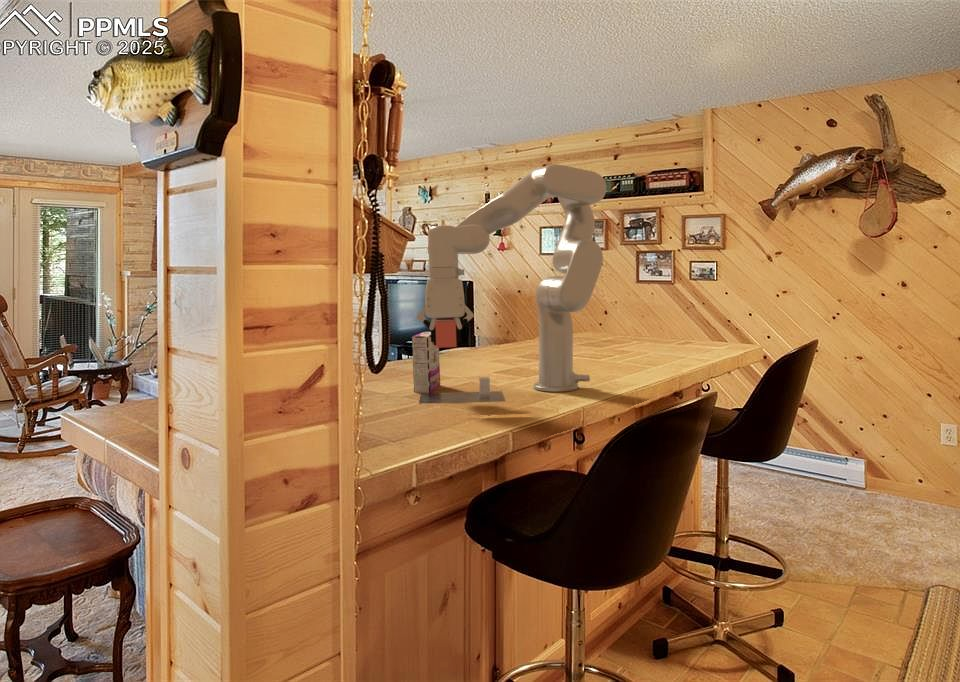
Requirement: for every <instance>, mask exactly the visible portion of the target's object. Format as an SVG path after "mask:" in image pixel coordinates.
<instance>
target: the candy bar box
mask: <svg viewBox="0 0 960 682" xmlns="http://www.w3.org/2000/svg"><path fill="white" fill-rule="evenodd" d="M411 351H412V352H411V353H412V365H413V366H412V369H413V370H412V372H413V393H420V394H421V393H433V391H435V390H436V389H437V388H439V387H441V371H440V370H441V368H440V366H441V365H440V348H436V346H434V342H431V331H423V332H420V333H418V334H415V335H413V336H411Z"/></svg>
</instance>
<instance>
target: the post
mask: <svg viewBox="0 0 960 682" xmlns="http://www.w3.org/2000/svg"><path fill="white" fill-rule="evenodd" d="M478 380H479V381H478V382H479V385H478V386H479V391H459V392H458V391H457V392H430V393H421V392H420V395H419V399H418V400H419V401H418V404H419V405H421V404H453V403H454V404H456V403H459V404H460V403H486V402H487V403H492V402H493V403H495V402H496V403H498V402H500V403H501V402H506V399H505V396H504V394H503V392H502V391H501V390H499V391H496V390H495V391H493V390H492V391H491V389H490V388H491V386H490V385H491V384H490V376H479V377H478Z"/></svg>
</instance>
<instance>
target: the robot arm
mask: <svg viewBox="0 0 960 682" xmlns="http://www.w3.org/2000/svg"><path fill="white" fill-rule="evenodd" d="M606 193H607V182H606V180H605V179H604V177H603V176H602V175H601V174H600V173H598V172H596V171H593V170H588V169H583V168H579V167H573V166H569V165H563V164H558V163H557V164H556V163H554V164H553V163H552V164H548V165H544V166H541V167H540V166H539V167H537V168H535V169H533V170H531V171H530V172H528V173H527V174H526V175H524V176H523V177H522V178H520V179H519V180H518V181H517V182H515V183H514V184H512V185H511V186H510V187H508V189H506V190H505V191H503V192H502V193H501V194H500V195H498V196H496V197H495V198H493V199H492V200H490V201H489V202H488V203H486V204H485V205H483V206H481V207H480V208H478V209H477V210H475V211H473V212H472V213H470V214H469V215H468V216H466V217H465V218H464V219H463V220H461V221H460V222H459V223H457V224H456V225H455V226H454V225H433V226H431V227H429V229H427V230H428V232H427V241H428V242H427V247H428V267H429V268H428V271H429V273H428V275H429V276H428V277H429V279H427V280H426V284H425V295H424V296H425V298H424V299H425V301H424V302H425V303H424V304H425V305H424V306H423V307H422V308H421V310H420V311H419V313H418V314H417V315H416V318H417V320H419V321H420V322H421V323H423V324H424V325H425V326H426V327H427V328H428V329H429V330H430V332H431V342H434V346H436V327H435V322H436V320H447V319H453V320H455V321H456V346H459V343H460V342H462V329H463V327H464V326H466V324H467V323H468V322H469V321H471V320H472V319H473V318H474V317H475V315H474V313H473V311H471V309H470V308H469V307H468V306H467V305H466V303H465V292H464V291H465V290H464V284H463V279H460V276H463V275H465V268H464V269H463V268H459V255H475V254H476V255H477V254H479V253H482V252H484V251H485V250H486V249H487V248H488V247H489V244H490V241H491V237H490V235H491V234H493V233H495V232H496V231H499V230H502V229H504V228H507V227H510V226H512V225H514V224H517V223H519V222H520V221H522V219H524V218H525V217H526V216H527V215H529V214H530V213H531V212H532V211H533V210H535V209H536V208H537V207H538V206H540V205H541V204H542V203H544V202H545V201H546V200H549V199H553V198H557V200H558V201H559V202H558V203H560V205H561V207H562V210H563V213H564V224H563V228H562V232H561V234H560V236H559V238H558V241H557V243H556V247H555V249H554V252H553V256H552V265H553V268H554V269H555V271H557V272H558V273H560V274H563V276H560V275H559V276H558V275H557V276H556V275H555V276H548V277H546V278H543V279H542V280H541V281H540V282H539V283H538V285H537V287H536V290H535V305H536V308H537V317H538V381H536V382H534V383H533V389H535V390H537V391H543V392H551V393H555V392H557V393H558V392H559V393H560V392H562V393H563V392H570V391H576V390H578V388H579V382H585V383H586V382H590V380H591V378H590V374H583V373H580V374H578V373H576V372H574V368H573V367H574V365H573V364H574V363H573V361H574V360H573V359H574V357H573V355H574V354H573V353H574V348H573V347H574V342H573V341H574V338H573V337H574V336H573V335H574V334H573V333H574V325H573V319H572V314H571V313H578V312H580V311H582V310H584V309H585V308H586V306H587V305H588V303H589V302H590V301H591V298H592V295H593V292H594V290H595V287H596V284H597V281H598V279H599V277H600V276H599V275H600V274H601V270H602V266H603V262H604V256H603V250H602V248H601V245H600V244H599V243H597V242H596V241H594V240H592V239H593V235H594V231H595V227H596V226H595V225H596V221H595V220H596V219H595V216H594V213H593V209H592V208H591V205H595V204H598V203H599V202H601V201H602V200H603V199H604V197H605V195H606ZM465 313H466V316H465ZM424 315H425V316H426V317H427V318H428V319H431V320H430V321H429V320H428V319H426V317H424ZM464 316H465V317H464ZM463 317H464V318H463ZM460 318H463V319H462V320H461V319H460Z"/></svg>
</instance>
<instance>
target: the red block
mask: <svg viewBox="0 0 960 682" xmlns="http://www.w3.org/2000/svg"><path fill="white" fill-rule="evenodd" d="M456 326H457V325H456V321H455V319H436V322H435V329H436V348H439V349H441V348H457V346H458V345H457V344H456Z"/></svg>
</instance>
